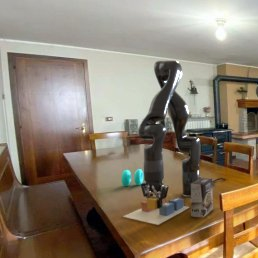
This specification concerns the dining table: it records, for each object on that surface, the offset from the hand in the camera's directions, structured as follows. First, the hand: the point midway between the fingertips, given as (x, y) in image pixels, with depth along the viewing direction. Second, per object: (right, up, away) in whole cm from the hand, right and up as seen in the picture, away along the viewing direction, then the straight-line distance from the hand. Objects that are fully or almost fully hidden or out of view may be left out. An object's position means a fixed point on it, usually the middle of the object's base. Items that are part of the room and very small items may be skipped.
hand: (155, 206), depth 108 cm
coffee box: (+18, -6, +8) cm, 21 cm away
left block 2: (-7, -4, +16) cm, 17 cm away
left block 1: (-8, -5, +10) cm, 14 cm away
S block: (0, 0, 0) cm, 0 cm away
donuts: (-39, -1, +45) cm, 59 cm away
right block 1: (+2, -5, +6) cm, 8 cm away
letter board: (-3, -6, +8) cm, 10 cm away
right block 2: (+4, -5, +12) cm, 13 cm away
